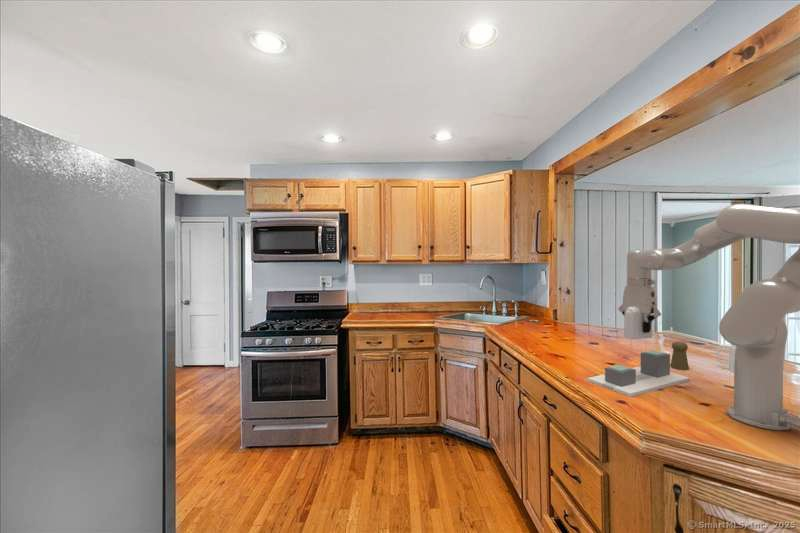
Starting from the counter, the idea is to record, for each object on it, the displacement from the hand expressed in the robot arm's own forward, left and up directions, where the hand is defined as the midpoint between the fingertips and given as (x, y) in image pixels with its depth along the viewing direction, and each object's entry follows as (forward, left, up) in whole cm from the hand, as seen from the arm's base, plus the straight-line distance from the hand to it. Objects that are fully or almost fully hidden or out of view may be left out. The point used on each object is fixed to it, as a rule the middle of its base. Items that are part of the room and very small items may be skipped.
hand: (638, 330), depth 125 cm
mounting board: (0, 0, -19) cm, 19 cm away
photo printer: (0, 0, -3) cm, 3 cm away
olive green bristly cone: (+2, -31, -20) cm, 37 cm away
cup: (-10, -47, -20) cm, 52 cm away
